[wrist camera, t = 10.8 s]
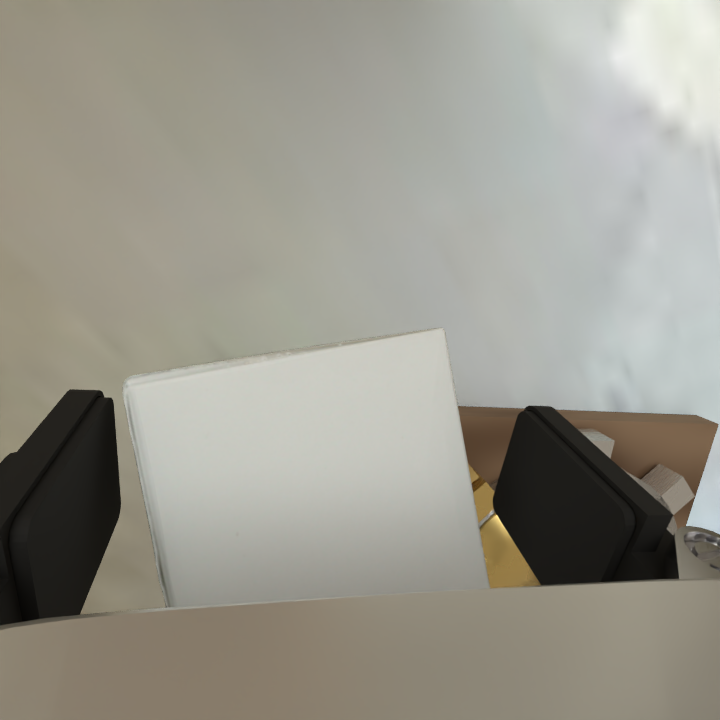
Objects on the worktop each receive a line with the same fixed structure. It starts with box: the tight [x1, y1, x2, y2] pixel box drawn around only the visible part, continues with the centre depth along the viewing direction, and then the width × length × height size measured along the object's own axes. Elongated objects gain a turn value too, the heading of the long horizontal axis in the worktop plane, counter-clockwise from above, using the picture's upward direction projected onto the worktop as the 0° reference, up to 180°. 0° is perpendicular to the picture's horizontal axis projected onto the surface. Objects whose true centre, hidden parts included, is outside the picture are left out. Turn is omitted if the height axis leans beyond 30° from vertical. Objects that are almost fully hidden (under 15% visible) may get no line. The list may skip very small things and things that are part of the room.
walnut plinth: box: [458, 406, 719, 529], centre depth 28 cm, size 20×20×4 cm
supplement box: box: [123, 328, 490, 608], centre depth 16 cm, size 7×7×13 cm
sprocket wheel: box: [472, 429, 695, 588], centre depth 25 cm, size 19×19×6 cm
